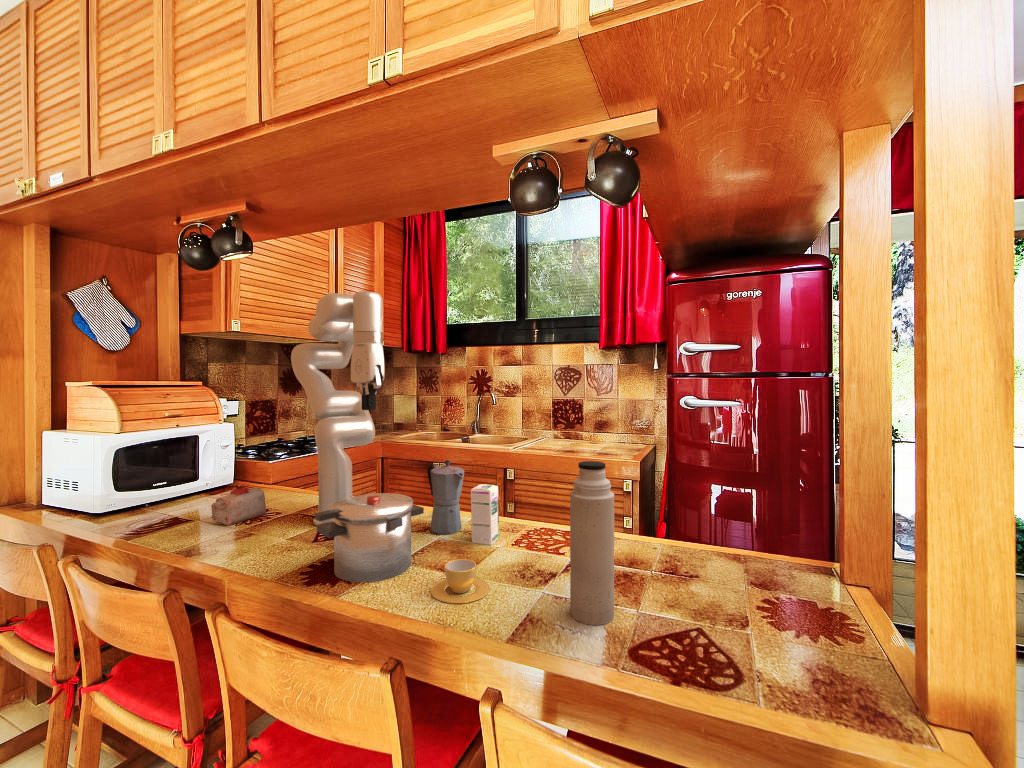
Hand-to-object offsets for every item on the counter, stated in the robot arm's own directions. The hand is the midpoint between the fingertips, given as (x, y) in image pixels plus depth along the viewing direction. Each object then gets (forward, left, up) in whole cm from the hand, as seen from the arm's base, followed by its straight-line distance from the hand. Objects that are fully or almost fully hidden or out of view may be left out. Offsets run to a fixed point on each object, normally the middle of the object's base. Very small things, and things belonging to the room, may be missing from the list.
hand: (368, 409), depth 121 cm
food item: (-47, -18, -35) cm, 61 cm away
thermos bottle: (+63, +10, -35) cm, 73 cm away
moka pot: (+6, +20, -35) cm, 41 cm away
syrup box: (+21, +22, -35) cm, 47 cm away
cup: (+38, -1, -36) cm, 52 cm away
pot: (+15, -7, -35) cm, 39 cm away
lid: (+15, -9, -22) cm, 28 cm away
